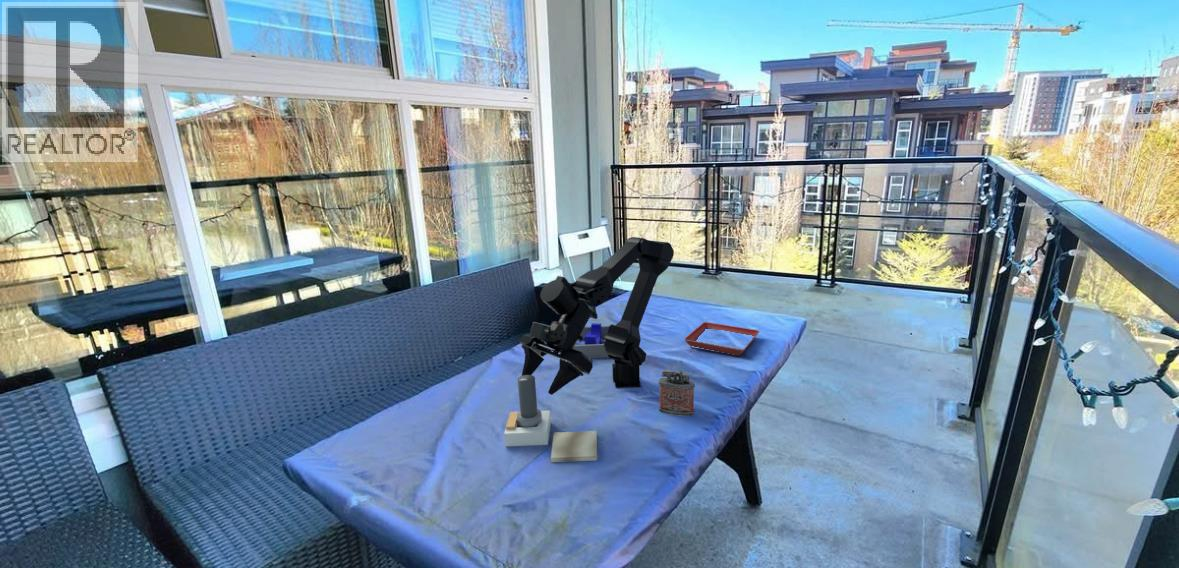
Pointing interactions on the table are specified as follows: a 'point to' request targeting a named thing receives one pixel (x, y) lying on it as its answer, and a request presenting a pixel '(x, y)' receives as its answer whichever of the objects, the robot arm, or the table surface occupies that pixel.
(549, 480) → the table surface
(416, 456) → the table surface
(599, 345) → the storage tray
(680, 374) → the lighter
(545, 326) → the robot arm
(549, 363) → the table surface
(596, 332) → the blue stepped block
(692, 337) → the plant saucer
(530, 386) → the plug
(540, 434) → the socket block
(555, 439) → the birch board
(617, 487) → the table surface
